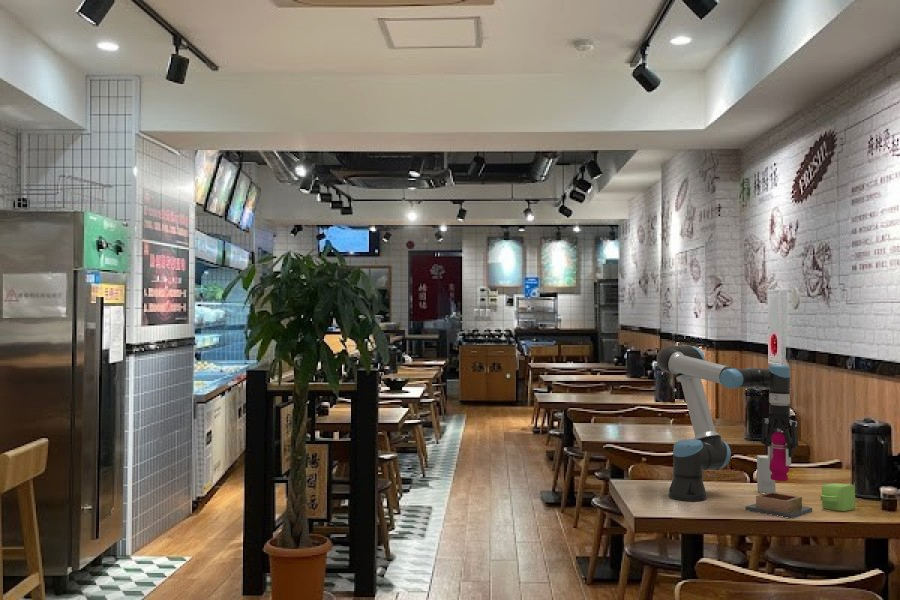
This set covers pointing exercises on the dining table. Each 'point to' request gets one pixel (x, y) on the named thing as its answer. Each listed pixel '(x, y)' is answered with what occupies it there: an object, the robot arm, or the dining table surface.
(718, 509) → the dining table surface
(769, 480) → the skincare box
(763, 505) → the plate
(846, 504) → the green bread box
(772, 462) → the pepper mill
